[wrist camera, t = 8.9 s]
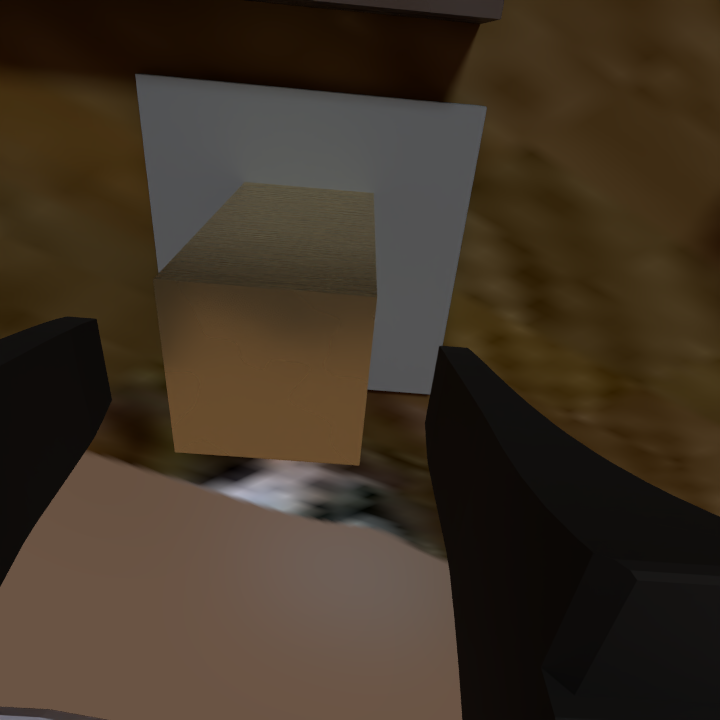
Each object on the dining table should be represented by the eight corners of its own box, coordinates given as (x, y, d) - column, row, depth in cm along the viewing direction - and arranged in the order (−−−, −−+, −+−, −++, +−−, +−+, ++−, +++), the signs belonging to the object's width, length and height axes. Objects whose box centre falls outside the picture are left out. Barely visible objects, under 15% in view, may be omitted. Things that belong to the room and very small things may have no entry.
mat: (173, 368, 20) (170, 374, 20) (140, 73, 15) (134, 74, 15) (432, 388, 20) (433, 394, 20) (484, 106, 15) (486, 107, 15)
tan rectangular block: (248, 300, 18) (175, 452, 11) (244, 181, 16) (153, 279, 9) (362, 309, 18) (359, 465, 11) (373, 193, 16) (377, 297, 9)
